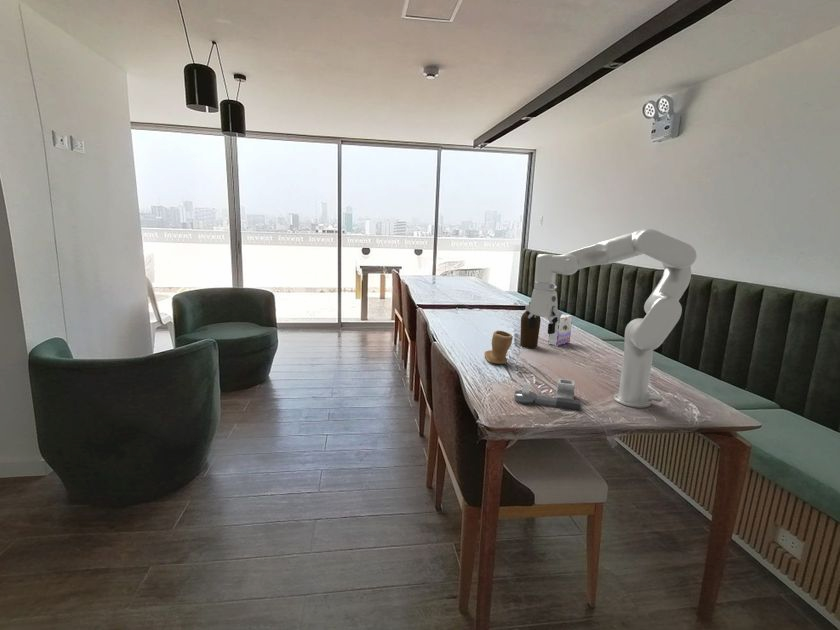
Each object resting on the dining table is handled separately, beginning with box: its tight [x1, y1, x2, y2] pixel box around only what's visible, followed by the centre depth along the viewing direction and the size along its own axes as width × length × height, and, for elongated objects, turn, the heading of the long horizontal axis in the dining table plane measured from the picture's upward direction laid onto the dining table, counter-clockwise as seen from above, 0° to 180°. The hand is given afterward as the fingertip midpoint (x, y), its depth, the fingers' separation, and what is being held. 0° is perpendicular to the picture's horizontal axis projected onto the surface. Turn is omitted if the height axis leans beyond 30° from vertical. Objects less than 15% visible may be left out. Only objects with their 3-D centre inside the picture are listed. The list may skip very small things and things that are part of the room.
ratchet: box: [513, 382, 583, 411], centre depth 153 cm, size 24×8×6 cm, turn 71°
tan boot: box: [484, 330, 514, 365], centre depth 204 cm, size 15×12×15 cm
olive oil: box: [519, 301, 542, 349], centre depth 233 cm, size 11×11×25 cm
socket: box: [555, 378, 576, 400], centre depth 161 cm, size 6×6×6 cm
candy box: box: [547, 313, 573, 347], centre depth 242 cm, size 14×6×16 cm, turn 130°
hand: (541, 330), depth 163 cm, fingers open, 9 cm apart
